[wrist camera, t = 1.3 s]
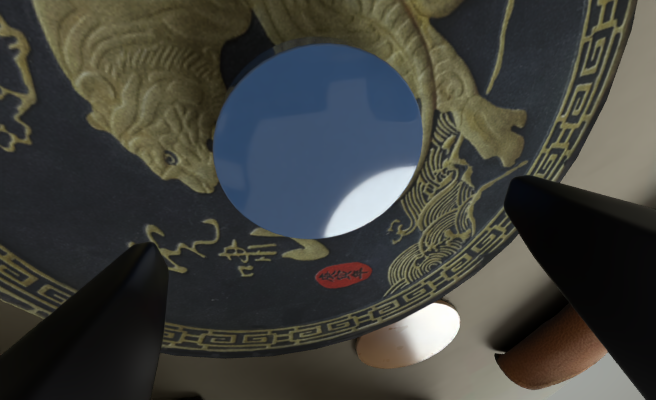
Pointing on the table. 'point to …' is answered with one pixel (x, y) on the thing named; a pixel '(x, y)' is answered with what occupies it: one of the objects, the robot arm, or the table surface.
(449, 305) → the coaster
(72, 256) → the decorative plate
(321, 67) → the flat blue disc
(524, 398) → the table surface
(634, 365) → the robot arm
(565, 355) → the sunglasses case
